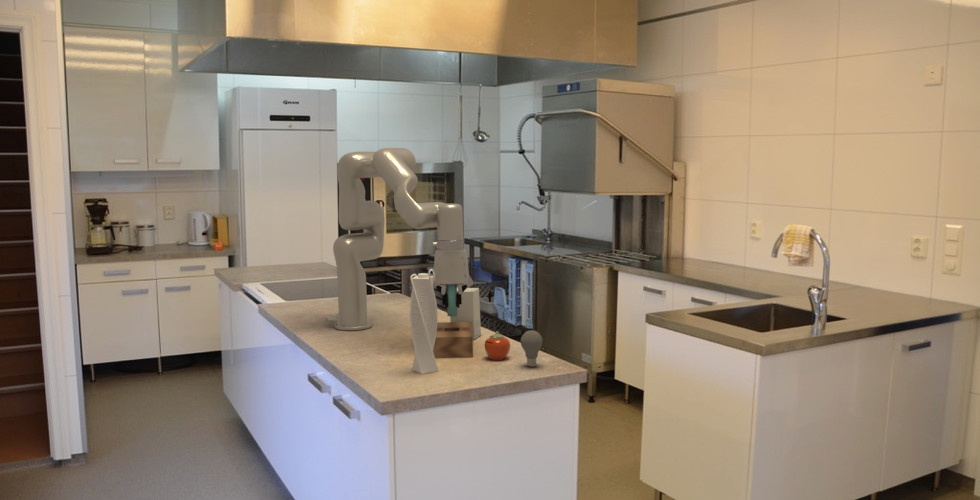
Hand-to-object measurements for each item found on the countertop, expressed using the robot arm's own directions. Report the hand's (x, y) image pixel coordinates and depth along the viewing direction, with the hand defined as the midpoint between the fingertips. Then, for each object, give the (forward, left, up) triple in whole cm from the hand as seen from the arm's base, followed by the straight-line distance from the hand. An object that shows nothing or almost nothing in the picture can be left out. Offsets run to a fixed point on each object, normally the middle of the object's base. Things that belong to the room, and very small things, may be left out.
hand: (452, 306), depth 235 cm
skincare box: (+4, +15, -13) cm, 20 cm away
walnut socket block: (0, 0, -13) cm, 13 cm away
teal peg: (0, 0, -3) cm, 3 cm away
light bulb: (+22, -21, -13) cm, 33 cm away
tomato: (+13, -12, -13) cm, 22 cm away
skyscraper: (-7, -23, -13) cm, 27 cm away
